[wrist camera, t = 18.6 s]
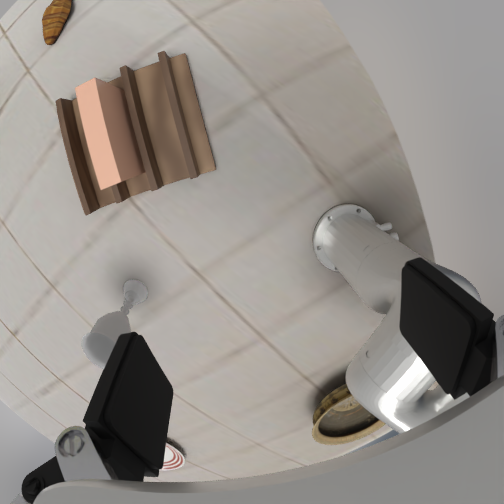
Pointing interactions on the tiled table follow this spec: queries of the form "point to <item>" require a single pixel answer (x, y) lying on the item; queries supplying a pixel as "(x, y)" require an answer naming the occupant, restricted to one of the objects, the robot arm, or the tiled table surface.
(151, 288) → the tiled table surface
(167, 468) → the dinner plate
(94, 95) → the pink rectangular block
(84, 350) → the chalice
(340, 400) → the ceramic bowl
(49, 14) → the croissant
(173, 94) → the slot rack
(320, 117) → the tiled table surface
